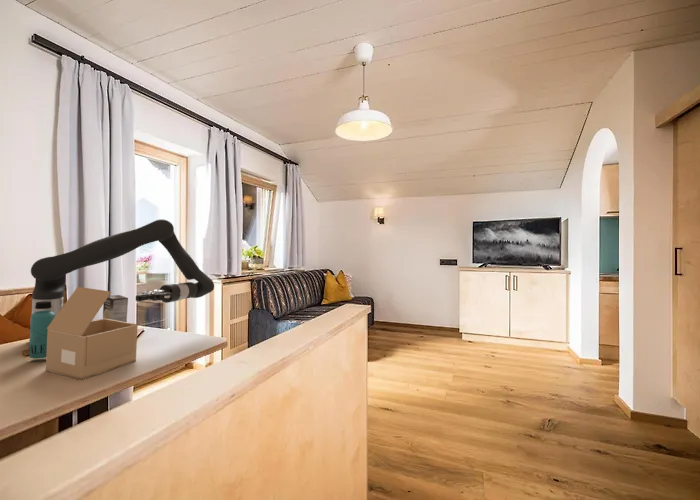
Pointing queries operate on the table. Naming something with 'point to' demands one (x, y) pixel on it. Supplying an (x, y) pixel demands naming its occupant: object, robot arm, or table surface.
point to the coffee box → (115, 308)
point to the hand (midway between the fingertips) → (137, 298)
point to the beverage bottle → (40, 330)
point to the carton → (92, 349)
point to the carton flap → (79, 311)
